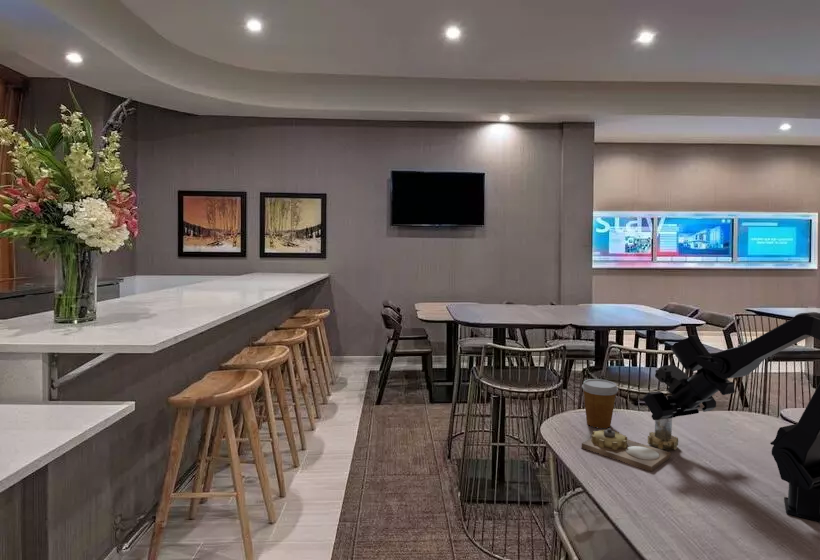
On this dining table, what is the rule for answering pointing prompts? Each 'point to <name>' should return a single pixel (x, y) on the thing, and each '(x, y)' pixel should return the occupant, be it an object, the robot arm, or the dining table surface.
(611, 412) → the disposable coffee cup
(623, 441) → the gear board
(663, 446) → the pinion
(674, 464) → the dining table surface
